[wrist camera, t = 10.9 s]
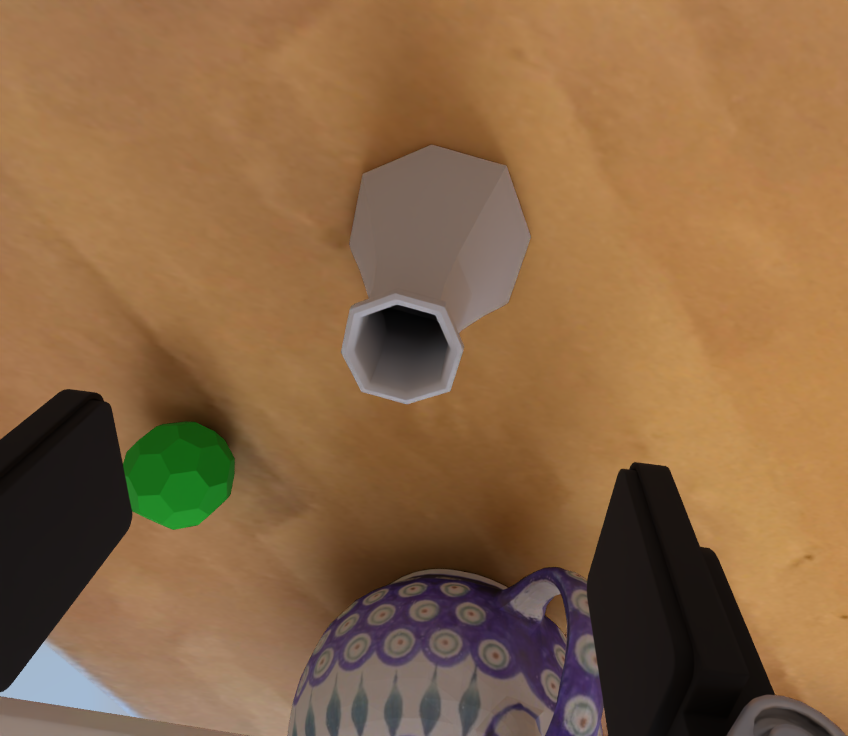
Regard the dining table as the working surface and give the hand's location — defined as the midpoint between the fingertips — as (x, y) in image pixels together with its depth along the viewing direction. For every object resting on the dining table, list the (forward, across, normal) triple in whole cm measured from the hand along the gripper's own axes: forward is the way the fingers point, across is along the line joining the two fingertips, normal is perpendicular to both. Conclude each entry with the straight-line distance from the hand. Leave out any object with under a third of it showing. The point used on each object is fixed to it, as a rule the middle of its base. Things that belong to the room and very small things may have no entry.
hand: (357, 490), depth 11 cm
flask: (+15, 0, 0) cm, 15 cm away
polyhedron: (+16, +11, +12) cm, 22 cm away
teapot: (+16, -3, +23) cm, 28 cm away
